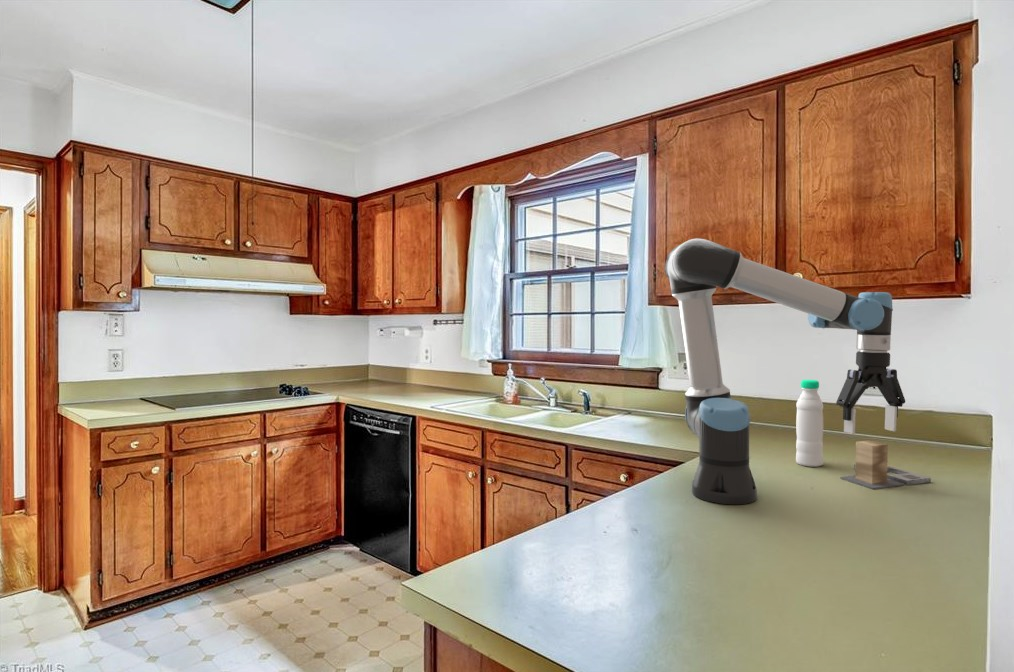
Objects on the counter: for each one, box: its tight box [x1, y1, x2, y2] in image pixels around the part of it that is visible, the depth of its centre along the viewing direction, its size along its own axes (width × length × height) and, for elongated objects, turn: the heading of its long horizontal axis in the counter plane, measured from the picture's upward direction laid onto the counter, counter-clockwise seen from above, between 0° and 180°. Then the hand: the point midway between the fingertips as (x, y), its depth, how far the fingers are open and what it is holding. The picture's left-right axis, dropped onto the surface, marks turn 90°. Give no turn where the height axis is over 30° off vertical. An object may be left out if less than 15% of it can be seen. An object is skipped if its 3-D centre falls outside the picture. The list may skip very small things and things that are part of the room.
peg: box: [855, 440, 889, 484], centre depth 150 cm, size 5×5×10 cm
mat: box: [840, 474, 905, 490], centre depth 150 cm, size 10×10×1 cm
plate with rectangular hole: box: [853, 464, 932, 486], centre depth 156 cm, size 8×16×1 cm, turn 15°
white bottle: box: [795, 379, 824, 468], centre depth 167 cm, size 7×7×25 cm
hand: (870, 431), depth 149 cm, fingers open, 13 cm apart
